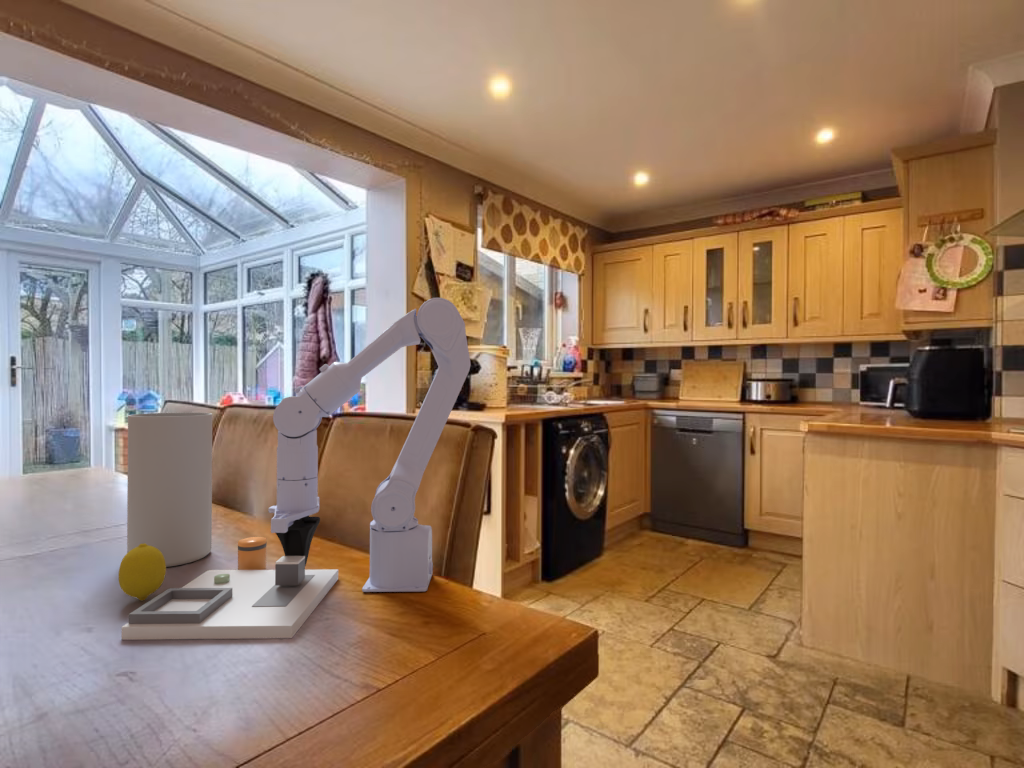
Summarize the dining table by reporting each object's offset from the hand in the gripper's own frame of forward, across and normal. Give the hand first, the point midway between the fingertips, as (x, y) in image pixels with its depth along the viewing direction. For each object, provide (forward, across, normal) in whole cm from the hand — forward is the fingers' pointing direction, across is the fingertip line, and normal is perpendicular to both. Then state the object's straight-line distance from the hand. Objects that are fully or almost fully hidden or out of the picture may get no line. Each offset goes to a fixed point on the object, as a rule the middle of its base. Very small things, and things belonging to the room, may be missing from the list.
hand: (296, 568), depth 82 cm
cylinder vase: (+3, -15, -27) cm, 31 cm away
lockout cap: (+3, -8, -10) cm, 13 cm away
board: (+3, +6, -5) cm, 8 cm away
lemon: (+3, +4, -20) cm, 21 cm away
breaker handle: (+1, +3, 0) cm, 3 cm away
